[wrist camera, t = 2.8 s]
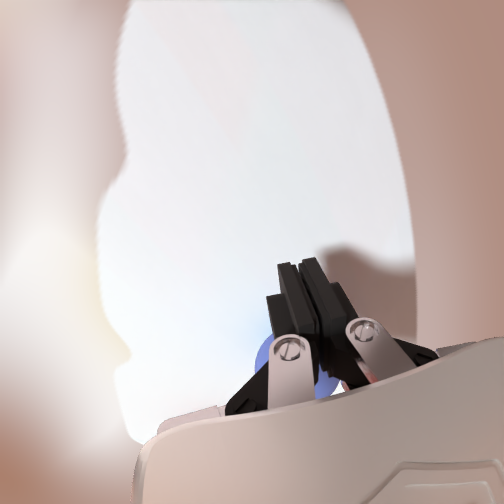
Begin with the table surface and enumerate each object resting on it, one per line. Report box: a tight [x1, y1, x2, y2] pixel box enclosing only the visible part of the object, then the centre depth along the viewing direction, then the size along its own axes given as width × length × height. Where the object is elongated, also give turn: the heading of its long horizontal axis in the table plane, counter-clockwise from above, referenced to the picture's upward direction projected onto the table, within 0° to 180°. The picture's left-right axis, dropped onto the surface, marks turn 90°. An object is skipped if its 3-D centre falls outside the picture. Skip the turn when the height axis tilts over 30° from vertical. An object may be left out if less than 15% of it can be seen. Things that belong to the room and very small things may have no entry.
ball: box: [255, 334, 340, 399], centre depth 18 cm, size 6×6×6 cm
